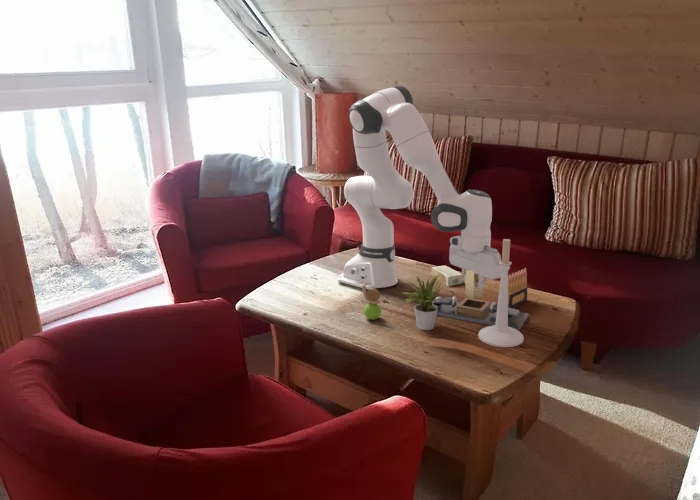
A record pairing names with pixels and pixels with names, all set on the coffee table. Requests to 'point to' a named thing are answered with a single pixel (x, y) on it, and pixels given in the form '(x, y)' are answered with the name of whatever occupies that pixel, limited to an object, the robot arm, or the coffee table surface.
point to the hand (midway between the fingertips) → (473, 285)
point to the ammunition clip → (517, 288)
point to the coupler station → (478, 313)
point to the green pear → (371, 303)
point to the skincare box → (447, 275)
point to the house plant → (425, 303)
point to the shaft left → (445, 301)
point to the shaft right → (511, 312)
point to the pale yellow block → (472, 285)
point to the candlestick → (502, 311)
